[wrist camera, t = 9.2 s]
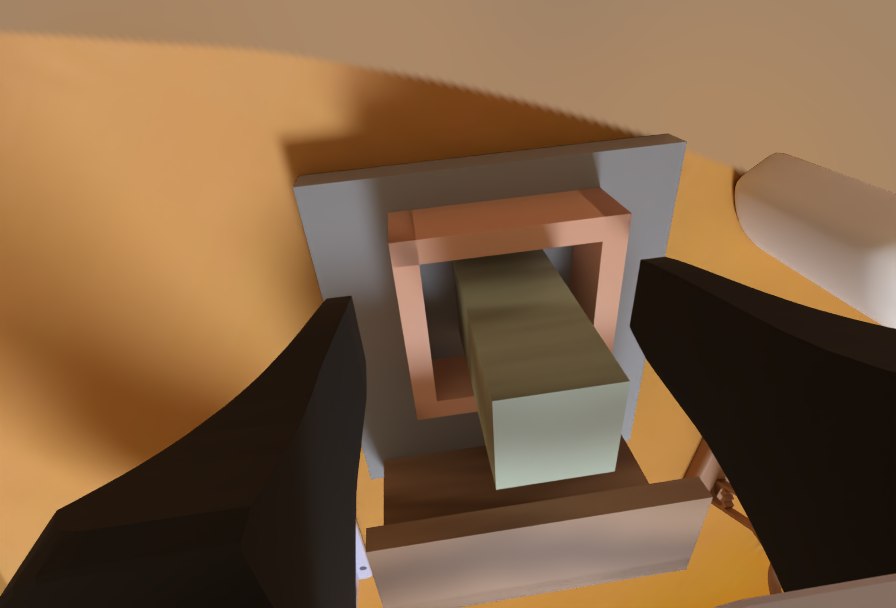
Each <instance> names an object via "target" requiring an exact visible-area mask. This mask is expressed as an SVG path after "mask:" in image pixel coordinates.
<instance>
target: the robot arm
mask: <svg viewBox="0 0 896 608" xmlns="http://www.w3.org/2000/svg"><path fill="white" fill-rule="evenodd" d="M629 327H630V329H631V331H632V333H633V335H634V337H635V339H636V341H637V343H638V345H639V347H640V349H641V350H642V352H643V354H644V356H645V358H646V359H647V361H648V362H649V364H650V365H651V366H652V368H653V369H654V371H655V372H656V373H657V375H658V376H659V378H660V379H661V380H662V382H663V383H664V384H665V386H666V387H667V388H668V390H669V391H670V393H671V394H672V395H673V397H674V398H675V399H676V401H677V402H678V403H679V405H680V406H681V407H682V409H683V410H684V411H685V413H686V414H687V416H688V417H689V418H690V420H691V421H692V422H693V424H694V425H695V426H696V428H697V429H698V431H699V432H700V434H701V435H702V437H703V438H704V440H705V441H706V443H707V444H708V446H709V448H710V450H711V451H712V453H713V455H714V456H715V458H716V460H717V462H718V463H719V465H720V467H721V468H722V470H723V472H724V474H725V475H726V477H727V479H728V481H729V483H730V484H731V486H732V488H733V490H734V492H735V494H736V496H737V497H738V499H739V501H740V503H741V505H742V507H743V509H744V510H745V512H746V514H747V516H748V518H749V520H750V522H751V524H752V526H753V528H754V530H755V532H756V534H757V536H758V538H759V540H760V542H761V544H762V546H763V548H764V550H765V552H766V555H767V557H768V559H769V561H770V563H771V565H772V567H773V569H774V571H775V574H776V576H777V578H778V580H779V583H780V585H781V587H782V589H783V591H784V593H778V594H772V595H766V596H761V597H755V598H749V599H743V600H738V601H734V602H731V603H728V604H724V605H721V606H717V607H714V608H896V329H895V328H890V327H885V326H880V325H876V324H871V323H867V322H863V321H859V320H855V319H851V318H847V317H843V316H840V315H836V314H832V313H828V312H825V311H821V310H817V309H814V308H811V307H807V306H804V305H801V304H798V303H795V302H792V301H789V300H786V299H783V298H780V297H777V296H774V295H771V294H768V293H765V292H762V291H759V290H756V289H754V288H751V287H748V286H746V285H743V284H740V283H738V282H735V281H732V280H730V279H727V278H724V277H722V276H719V275H717V274H714V273H711V272H709V271H706V270H703V269H701V268H698V267H695V266H693V265H690V264H687V263H684V262H681V261H678V260H675V259H671V258H667V257H658V258H650V259H642V260H640V266H639V272H638V278H637V284H636V290H635V296H634V302H633V308H632V314H631V320H630V326H629ZM366 399H367V377H366V359H365V354H364V349H363V345H362V340H361V336H360V331H359V327H358V322H357V318H356V313H355V308H354V304H353V299H352V296H344V297H335V298H327V299H326V300H325V301H324V302H323V303H322V305H321V306H320V307H319V308H318V309H317V311H316V312H315V313H314V314H313V316H312V317H311V318H310V320H309V321H308V322H307V323H306V325H305V326H304V327H303V328H302V330H301V331H300V332H299V333H298V334H297V336H296V337H295V338H294V339H293V340H292V342H291V343H290V344H289V345H288V346H287V347H286V349H285V350H284V351H283V352H282V353H281V354H280V355H279V356H278V357H277V358H276V359H275V360H274V361H273V362H272V363H271V364H270V366H269V367H268V368H267V369H266V370H265V371H264V372H263V373H262V374H261V375H260V376H259V377H258V378H257V379H256V380H255V381H253V382H252V383H251V384H250V385H249V386H248V387H247V388H246V389H245V390H243V391H242V392H241V393H240V394H239V395H238V396H236V397H235V398H234V399H233V400H232V401H231V402H229V403H228V404H227V405H226V406H225V407H223V408H222V409H221V410H219V411H218V412H217V413H215V414H214V415H213V416H211V417H210V418H209V419H207V420H206V421H205V422H203V423H202V424H201V425H199V426H198V427H196V428H195V429H194V430H192V431H191V432H190V433H188V434H187V435H186V436H184V437H183V438H181V439H180V440H178V441H177V442H175V443H174V444H172V445H171V446H169V447H168V448H166V449H165V450H163V451H161V452H160V453H158V454H157V455H155V456H153V457H152V458H150V459H149V460H147V461H145V462H144V463H142V464H140V465H139V466H137V467H135V468H134V469H132V470H130V471H129V472H127V473H125V474H124V475H122V476H120V477H118V478H116V479H114V480H113V481H111V482H109V483H107V484H105V485H104V486H102V487H100V488H98V489H96V490H94V491H93V492H91V493H89V494H87V495H85V496H83V497H82V498H80V499H78V500H76V501H74V502H72V503H70V504H68V505H66V506H65V507H63V508H61V509H59V510H57V511H56V513H55V514H54V516H53V517H52V518H51V520H50V521H49V523H48V524H47V526H46V527H45V529H44V530H43V532H42V534H41V535H40V537H39V538H38V540H37V541H36V543H35V544H34V546H33V547H32V549H31V550H30V552H29V553H28V555H27V556H26V558H25V559H24V561H23V562H22V564H21V565H20V567H19V569H18V570H17V572H16V573H15V575H14V576H13V578H12V579H11V581H10V582H9V584H8V585H7V587H6V588H5V590H4V592H3V593H2V595H1V596H0V608H358V589H359V580H360V579H366V578H369V577H371V576H372V571H371V568H370V564H369V561H368V558H367V555H366V549H365V546H364V542H363V539H362V536H361V533H360V530H359V527H358V524H357V521H356V491H357V477H358V468H359V460H360V451H361V443H362V434H363V426H364V417H365V408H366Z"/></svg>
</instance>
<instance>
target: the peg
mask: <svg viewBox="0 0 896 608" xmlns="http://www.w3.org/2000/svg"><path fill="white" fill-rule="evenodd" d="M453 268H454V279H455V291H456V302H457V314H458V325H459V333H460V337H461V341H462V346H463V350H464V354H465V359H466V363H467V367H468V371H469V376H470V380H471V384H472V389H473V393H474V397H475V401H476V406H477V410H478V414H479V419H480V423H481V427H482V431H483V436H484V440H485V444H486V449H487V453H488V457H489V461H490V466H491V470H492V474H493V479H494V483H495V487H496V490H498V489H505V488H511V487H517V486H524V485H530V484H537V483H543V482H550V481H556V480H562V479H569V478H575V477H582V476H588V475H595V474H601V473H608V472H614V471H615V467H616V461H617V456H618V450H619V444H620V438H621V432H622V427H623V421H624V415H625V409H626V403H627V398H628V392H629V386H630V380H629V378H628V377H627V375H626V374H625V372H624V371H623V369H622V368H621V366H620V365H619V363H618V362H617V360H616V359H615V357H614V356H613V354H612V353H611V351H610V350H609V348H608V347H607V345H606V344H605V342H604V341H603V339H602V338H601V336H600V335H599V333H598V332H597V330H596V329H595V327H594V326H593V324H592V323H591V321H590V320H589V318H588V317H587V315H586V314H585V312H584V311H583V309H582V308H581V306H580V305H579V303H578V302H577V300H576V299H575V297H574V296H573V294H572V293H571V291H570V290H569V288H568V287H567V285H566V284H565V282H564V281H563V279H562V278H561V276H560V275H559V273H558V272H557V270H556V268H555V267H554V265H553V264H552V262H551V261H550V259H549V258H548V256H547V255H546V253H545V252H544V250H543V249H539V250H531V251H524V252H516V253H508V254H500V255H492V256H484V257H476V258H468V259H460V260H453Z"/></svg>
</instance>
